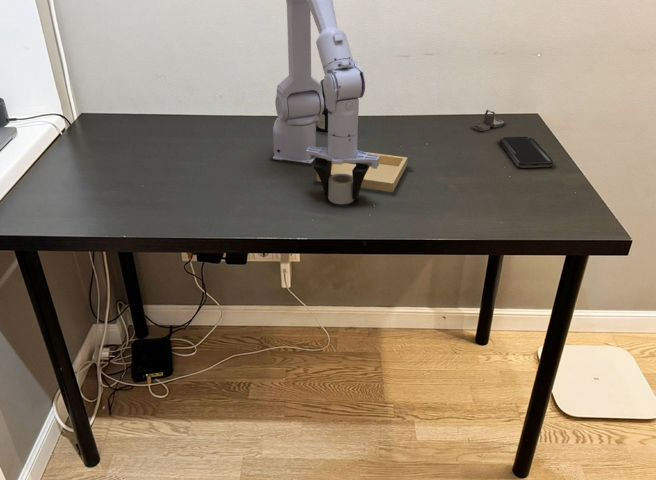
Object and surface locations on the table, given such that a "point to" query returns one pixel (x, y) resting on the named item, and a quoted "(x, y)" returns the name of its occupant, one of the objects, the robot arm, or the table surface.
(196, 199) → the table surface
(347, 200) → the tape roll
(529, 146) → the phone
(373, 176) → the tray
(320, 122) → the ink bottle
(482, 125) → the strap clip
